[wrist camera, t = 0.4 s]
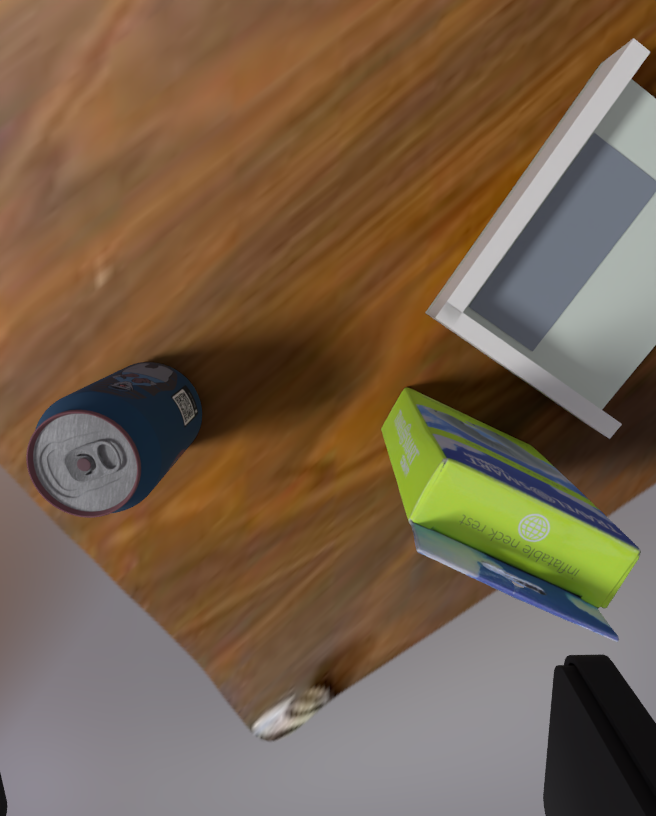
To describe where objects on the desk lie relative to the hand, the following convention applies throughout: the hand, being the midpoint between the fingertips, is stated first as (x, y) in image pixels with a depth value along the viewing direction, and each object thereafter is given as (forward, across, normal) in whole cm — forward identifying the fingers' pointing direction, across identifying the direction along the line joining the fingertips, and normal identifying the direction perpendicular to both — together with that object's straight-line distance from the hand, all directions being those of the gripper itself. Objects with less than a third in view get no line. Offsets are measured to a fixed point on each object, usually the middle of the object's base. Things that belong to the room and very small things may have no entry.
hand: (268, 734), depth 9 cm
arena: (+30, -18, -8) cm, 36 cm away
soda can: (+31, +12, +2) cm, 33 cm away
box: (+30, -10, +5) cm, 32 cm away
